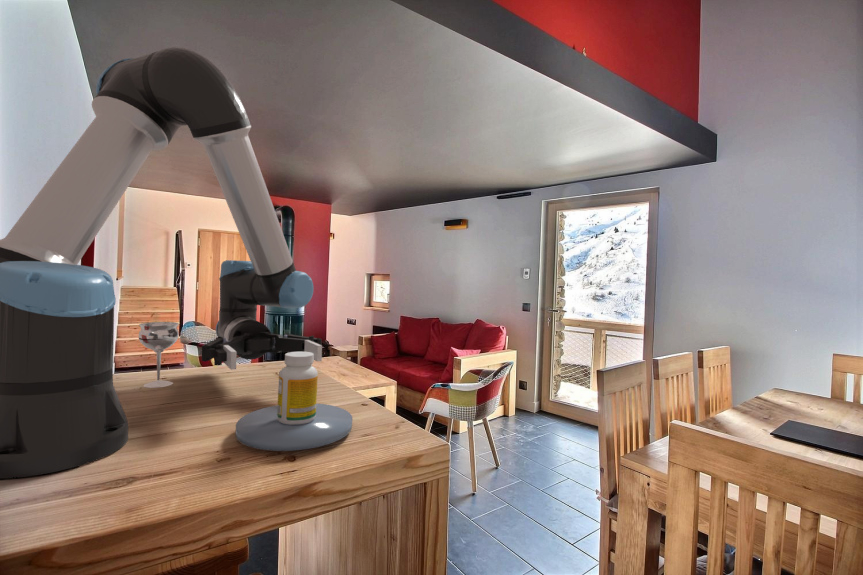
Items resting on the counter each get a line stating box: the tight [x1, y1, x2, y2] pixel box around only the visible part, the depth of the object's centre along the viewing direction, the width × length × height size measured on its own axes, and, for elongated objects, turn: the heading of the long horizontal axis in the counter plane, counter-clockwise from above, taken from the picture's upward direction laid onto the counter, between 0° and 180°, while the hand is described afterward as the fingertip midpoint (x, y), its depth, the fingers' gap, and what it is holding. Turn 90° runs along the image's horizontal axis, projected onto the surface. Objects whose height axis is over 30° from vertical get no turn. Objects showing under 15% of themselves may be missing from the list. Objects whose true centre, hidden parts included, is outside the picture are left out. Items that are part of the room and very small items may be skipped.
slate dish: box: [235, 402, 353, 452], centre depth 62 cm, size 16×16×2 cm
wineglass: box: [138, 321, 180, 389], centre depth 85 cm, size 7×7×12 cm
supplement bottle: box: [277, 352, 319, 425], centre depth 62 cm, size 5×5×10 cm
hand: (279, 356), depth 69 cm, fingers open, 13 cm apart
